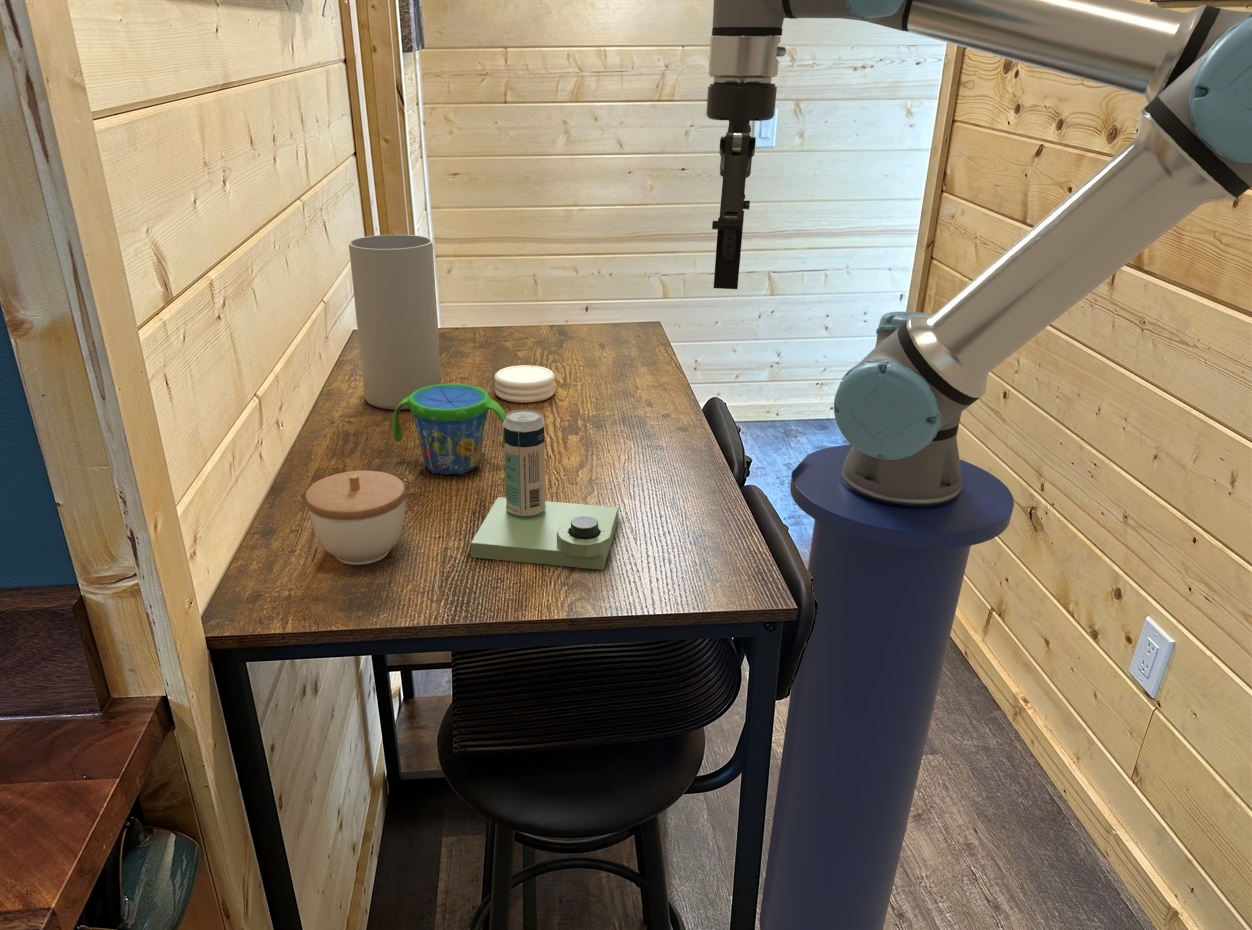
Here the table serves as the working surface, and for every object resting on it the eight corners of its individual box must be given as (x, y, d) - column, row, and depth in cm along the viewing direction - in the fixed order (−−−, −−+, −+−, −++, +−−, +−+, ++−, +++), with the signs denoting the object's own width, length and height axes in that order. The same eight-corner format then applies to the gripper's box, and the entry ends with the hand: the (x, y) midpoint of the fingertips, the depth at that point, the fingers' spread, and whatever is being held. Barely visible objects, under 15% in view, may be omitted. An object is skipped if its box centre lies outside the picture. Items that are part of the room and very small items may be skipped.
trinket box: (358, 521, 110) (350, 450, 106) (429, 543, 105) (423, 469, 101) (293, 559, 102) (281, 483, 97) (366, 585, 97) (357, 506, 93)
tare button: (599, 529, 102) (600, 517, 101) (595, 542, 99) (595, 529, 98) (573, 527, 102) (573, 514, 101) (568, 539, 100) (568, 527, 99)
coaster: (560, 385, 155) (560, 366, 154) (548, 405, 146) (548, 384, 145) (503, 382, 157) (502, 362, 155) (488, 401, 148) (487, 381, 146)
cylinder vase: (445, 385, 155) (436, 234, 144) (438, 411, 144) (427, 249, 133) (371, 386, 155) (356, 234, 144) (358, 411, 144) (341, 249, 132)
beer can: (550, 503, 110) (549, 410, 105) (540, 521, 106) (538, 424, 101) (512, 499, 111) (509, 406, 106) (500, 516, 107) (497, 421, 102)
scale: (621, 521, 110) (622, 495, 109) (606, 574, 99) (606, 546, 97) (498, 510, 113) (497, 484, 111) (468, 561, 101) (467, 533, 100)
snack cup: (518, 456, 128) (516, 387, 123) (496, 487, 119) (493, 414, 114) (413, 446, 131) (408, 378, 126) (384, 476, 122) (377, 404, 117)
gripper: (779, 84, 89) (759, 301, 98) (775, 78, 111) (758, 256, 120) (702, 83, 90) (689, 298, 99) (713, 77, 112) (701, 254, 121)
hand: (727, 275), depth 110 cm, fingers open, 13 cm apart
